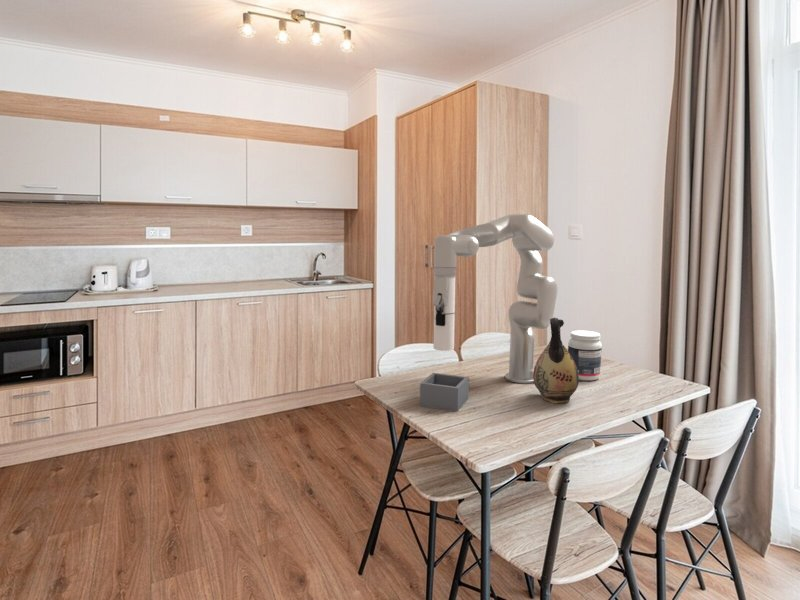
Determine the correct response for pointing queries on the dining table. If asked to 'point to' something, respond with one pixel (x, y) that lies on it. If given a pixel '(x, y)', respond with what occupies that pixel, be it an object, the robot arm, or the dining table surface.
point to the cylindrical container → (446, 322)
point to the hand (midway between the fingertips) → (444, 323)
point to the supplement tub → (586, 353)
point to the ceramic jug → (556, 369)
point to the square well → (444, 391)
